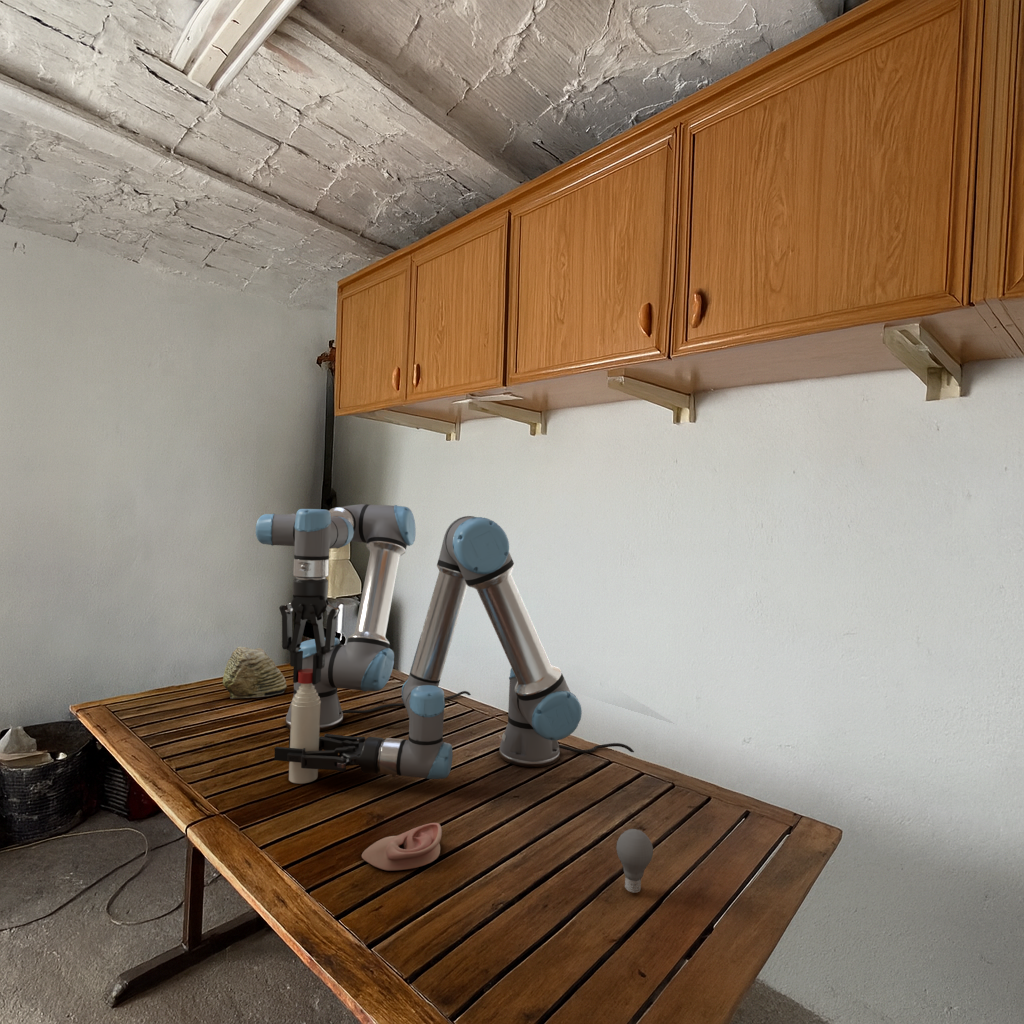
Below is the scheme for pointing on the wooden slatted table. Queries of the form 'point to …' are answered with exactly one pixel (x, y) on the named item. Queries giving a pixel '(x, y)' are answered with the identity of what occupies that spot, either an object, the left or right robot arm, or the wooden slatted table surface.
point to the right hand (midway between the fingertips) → (282, 747)
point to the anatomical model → (406, 849)
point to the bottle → (304, 730)
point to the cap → (305, 676)
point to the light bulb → (634, 857)
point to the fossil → (252, 674)
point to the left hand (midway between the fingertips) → (306, 681)
